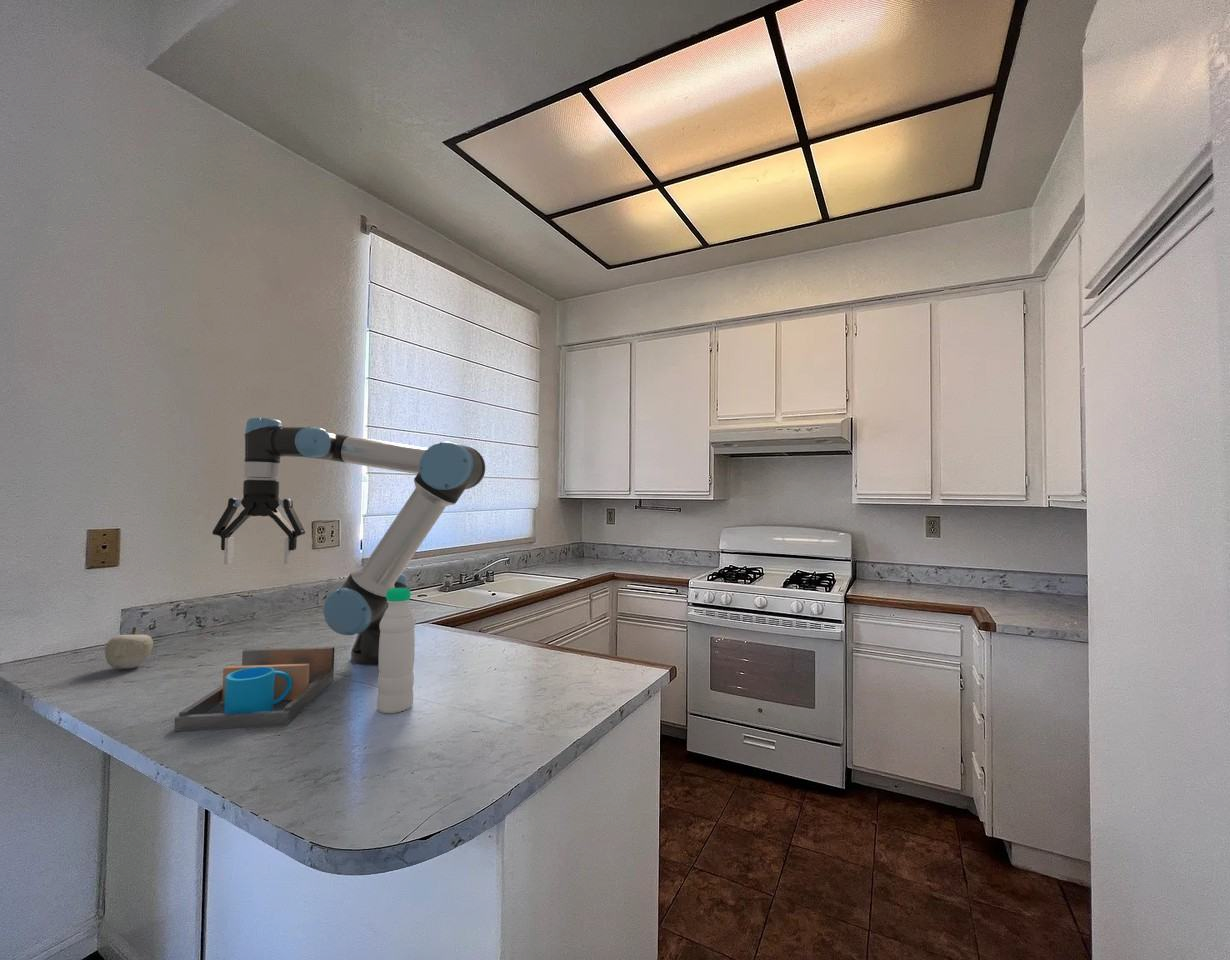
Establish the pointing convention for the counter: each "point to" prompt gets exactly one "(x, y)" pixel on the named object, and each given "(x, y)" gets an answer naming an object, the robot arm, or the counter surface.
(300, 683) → the pusher
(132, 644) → the decorative object
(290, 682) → the mug
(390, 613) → the water bottle
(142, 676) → the counter surface
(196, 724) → the lane
